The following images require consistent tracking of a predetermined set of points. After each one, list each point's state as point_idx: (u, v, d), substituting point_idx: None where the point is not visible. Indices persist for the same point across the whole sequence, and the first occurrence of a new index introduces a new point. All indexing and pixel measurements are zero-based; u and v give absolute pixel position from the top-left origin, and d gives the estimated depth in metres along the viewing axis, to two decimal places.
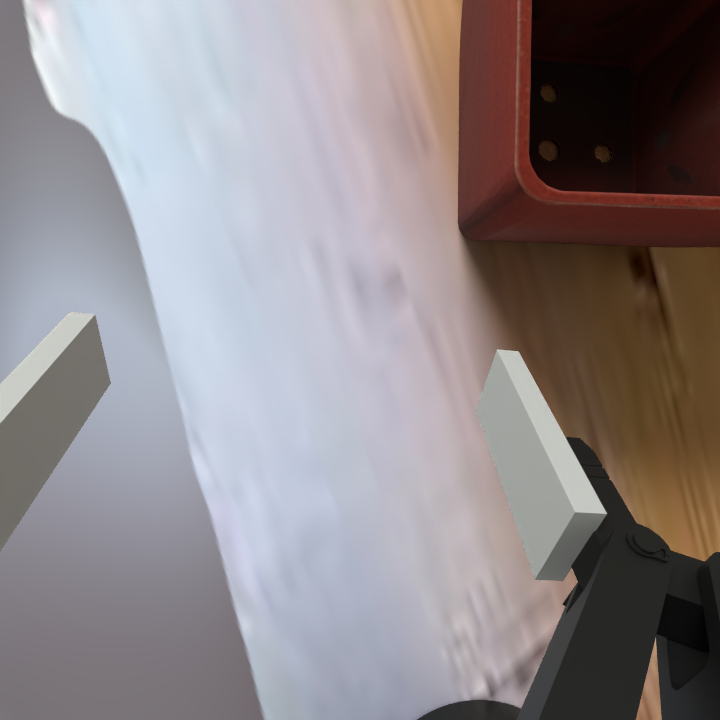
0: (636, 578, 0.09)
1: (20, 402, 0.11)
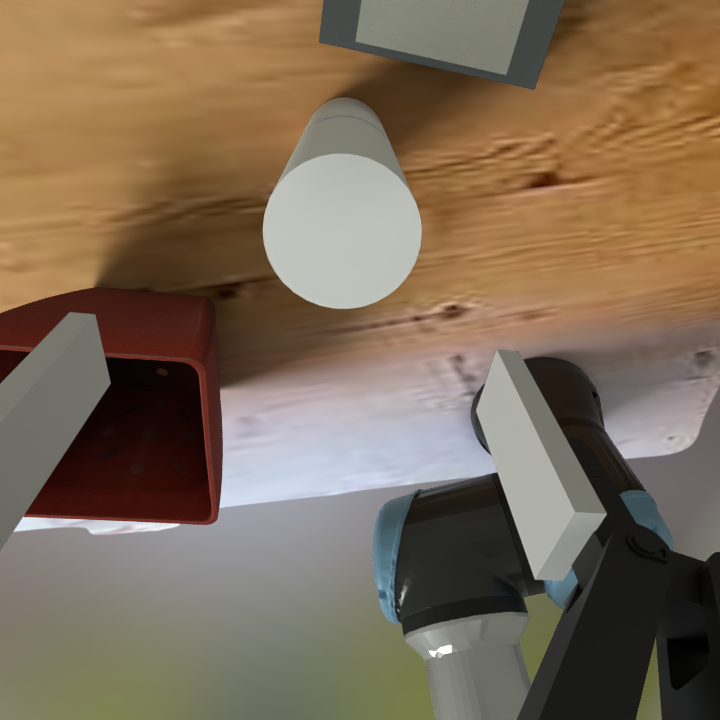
0: (636, 579, 0.09)
1: (20, 402, 0.11)
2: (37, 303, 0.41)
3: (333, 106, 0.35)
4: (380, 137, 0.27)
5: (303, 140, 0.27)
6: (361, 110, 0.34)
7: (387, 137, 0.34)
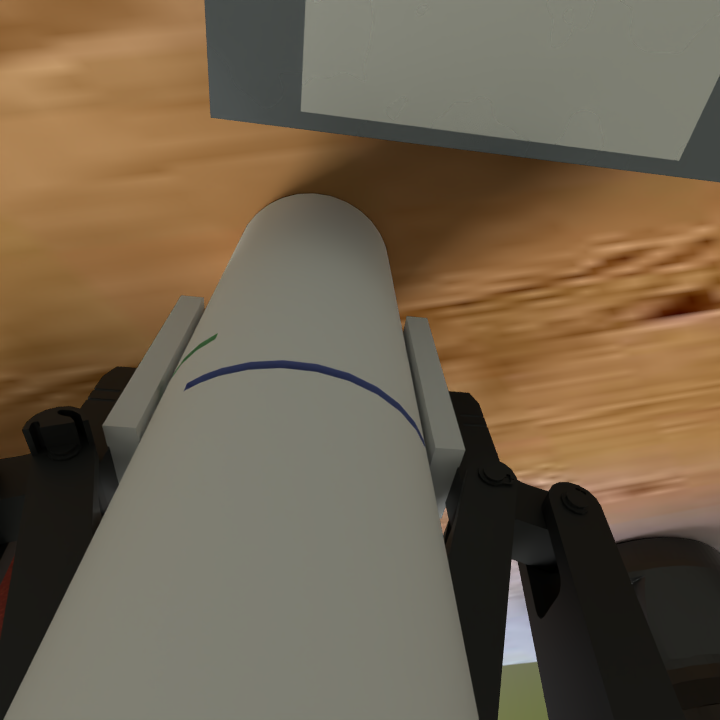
0: (490, 507, 0.10)
1: (167, 369, 0.13)
2: None
3: (266, 253, 0.15)
4: (375, 520, 0.07)
5: (83, 578, 0.07)
6: (329, 267, 0.14)
7: (395, 333, 0.14)
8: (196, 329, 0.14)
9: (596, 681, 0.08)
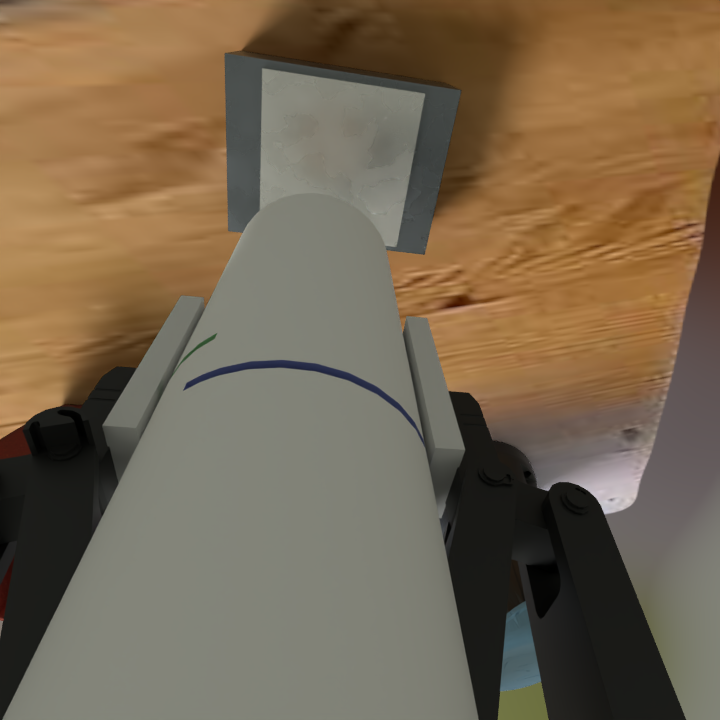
0: (490, 507, 0.10)
1: (167, 369, 0.13)
2: (7, 439, 0.47)
3: (266, 252, 0.15)
4: (374, 519, 0.07)
5: (83, 578, 0.07)
6: (329, 267, 0.14)
7: (394, 333, 0.14)
8: (196, 329, 0.14)
9: (596, 681, 0.08)
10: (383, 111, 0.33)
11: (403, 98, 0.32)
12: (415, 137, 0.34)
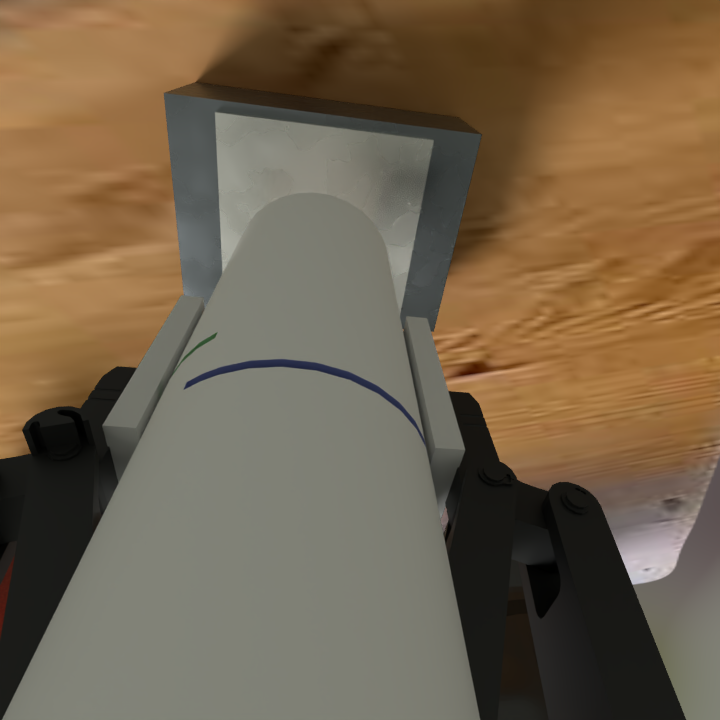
0: (490, 506, 0.10)
1: (167, 369, 0.13)
2: None
3: (266, 252, 0.15)
4: (375, 519, 0.07)
5: (82, 577, 0.07)
6: (329, 266, 0.14)
7: (395, 332, 0.14)
8: (196, 328, 0.14)
9: (596, 681, 0.08)
10: (379, 163, 0.25)
11: (405, 146, 0.24)
12: (421, 195, 0.26)
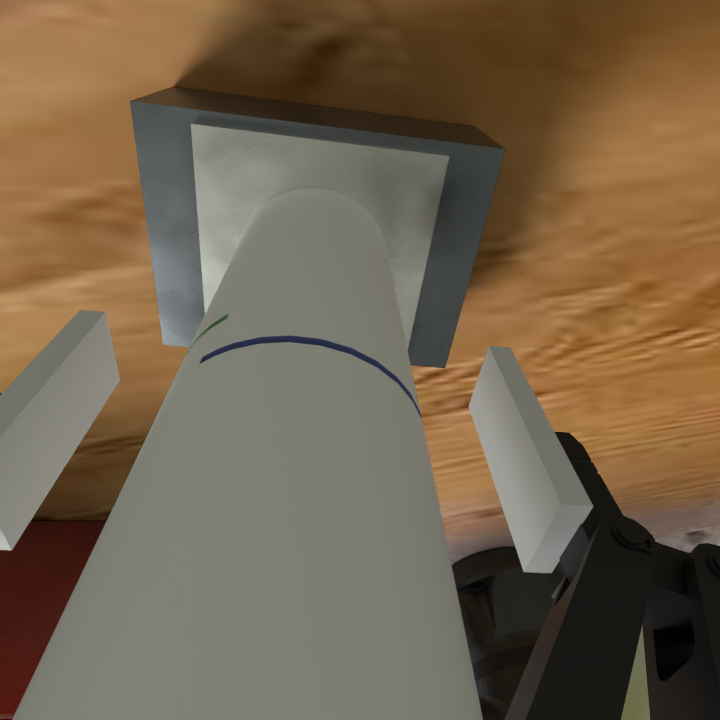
0: (622, 570, 0.10)
1: (35, 398, 0.11)
2: None
3: (271, 242, 0.16)
4: (375, 470, 0.08)
5: (117, 519, 0.08)
6: (331, 254, 0.15)
7: (393, 316, 0.15)
8: (207, 312, 0.15)
9: None
10: (384, 183, 0.21)
11: (415, 163, 0.21)
12: (433, 218, 0.22)
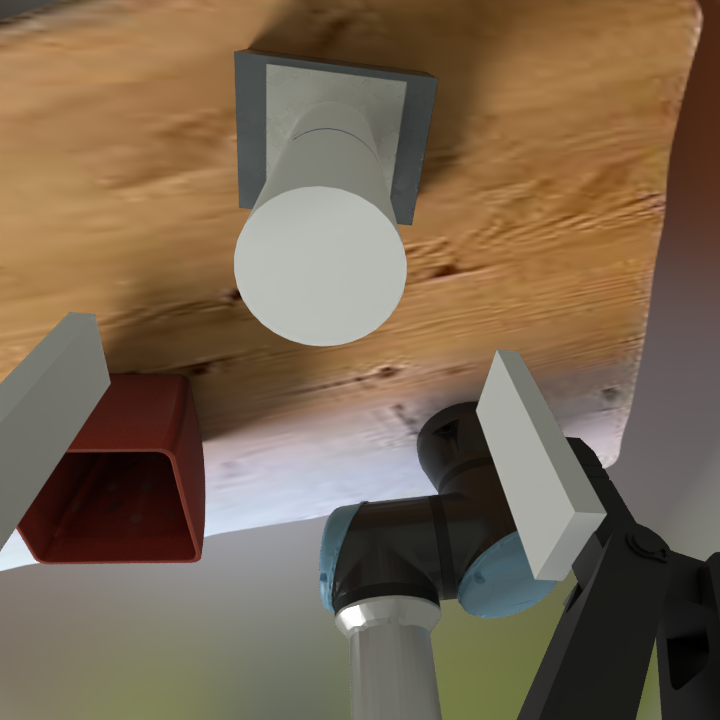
0: (636, 578, 0.09)
1: (20, 402, 0.11)
2: None
3: (314, 115, 0.33)
4: (361, 151, 0.25)
5: (278, 162, 0.25)
6: (343, 117, 0.32)
7: (372, 144, 0.32)
8: (286, 141, 0.32)
9: None
10: (371, 98, 0.38)
11: (388, 86, 0.38)
12: (399, 120, 0.39)
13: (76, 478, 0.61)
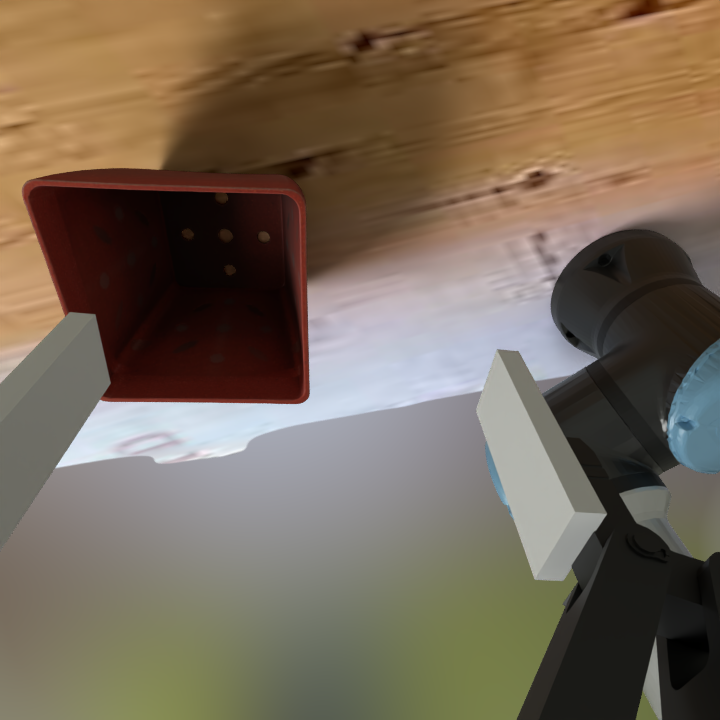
0: (636, 578, 0.09)
1: (20, 402, 0.11)
2: (113, 168, 0.39)
3: None
4: None
5: None
6: None
7: None
8: None
9: None
10: None
11: None
12: None
13: (138, 309, 0.47)
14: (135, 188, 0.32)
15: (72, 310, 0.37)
